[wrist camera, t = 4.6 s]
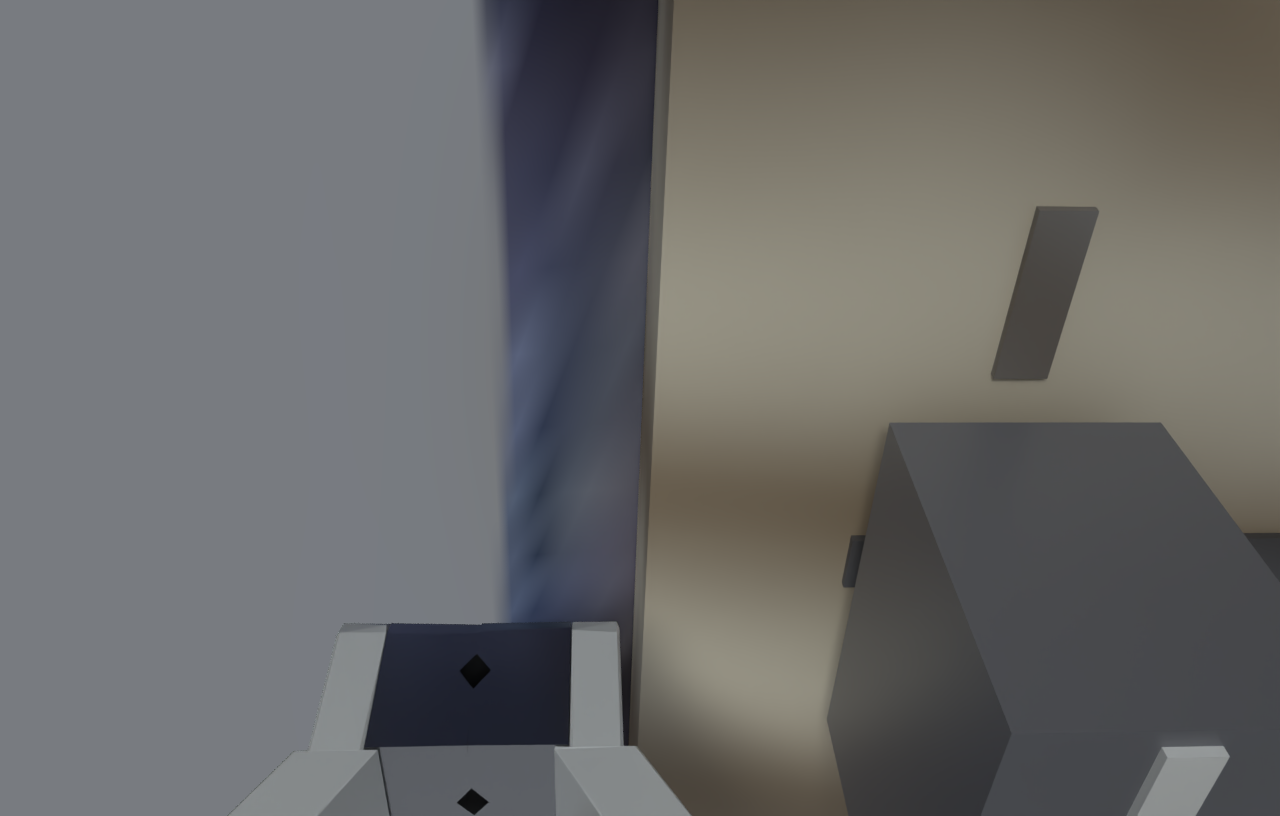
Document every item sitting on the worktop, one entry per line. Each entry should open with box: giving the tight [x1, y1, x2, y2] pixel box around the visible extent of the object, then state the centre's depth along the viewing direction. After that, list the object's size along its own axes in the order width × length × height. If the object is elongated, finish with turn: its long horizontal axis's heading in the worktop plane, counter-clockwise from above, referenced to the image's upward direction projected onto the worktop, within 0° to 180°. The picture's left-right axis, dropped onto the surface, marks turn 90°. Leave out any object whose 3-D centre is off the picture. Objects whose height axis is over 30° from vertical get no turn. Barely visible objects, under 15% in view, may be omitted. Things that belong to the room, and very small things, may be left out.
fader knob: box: [827, 422, 1280, 816], centre depth 11 cm, size 5×3×4 cm, turn 178°
